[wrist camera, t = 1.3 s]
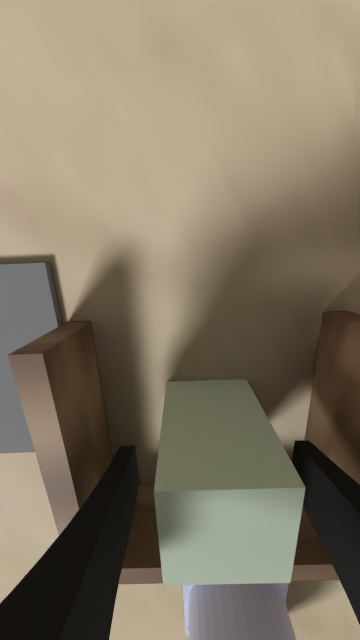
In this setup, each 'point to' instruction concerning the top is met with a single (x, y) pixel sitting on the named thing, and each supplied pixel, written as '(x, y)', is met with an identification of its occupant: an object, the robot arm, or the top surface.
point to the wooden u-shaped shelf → (143, 544)
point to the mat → (21, 339)
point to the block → (223, 488)
